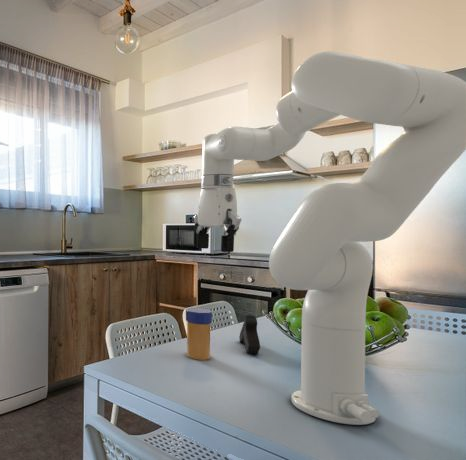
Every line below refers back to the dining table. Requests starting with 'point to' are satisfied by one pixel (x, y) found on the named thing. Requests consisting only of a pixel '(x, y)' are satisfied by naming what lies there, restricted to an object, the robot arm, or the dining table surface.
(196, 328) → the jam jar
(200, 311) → the jar lid
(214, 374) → the dining table surface
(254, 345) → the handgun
